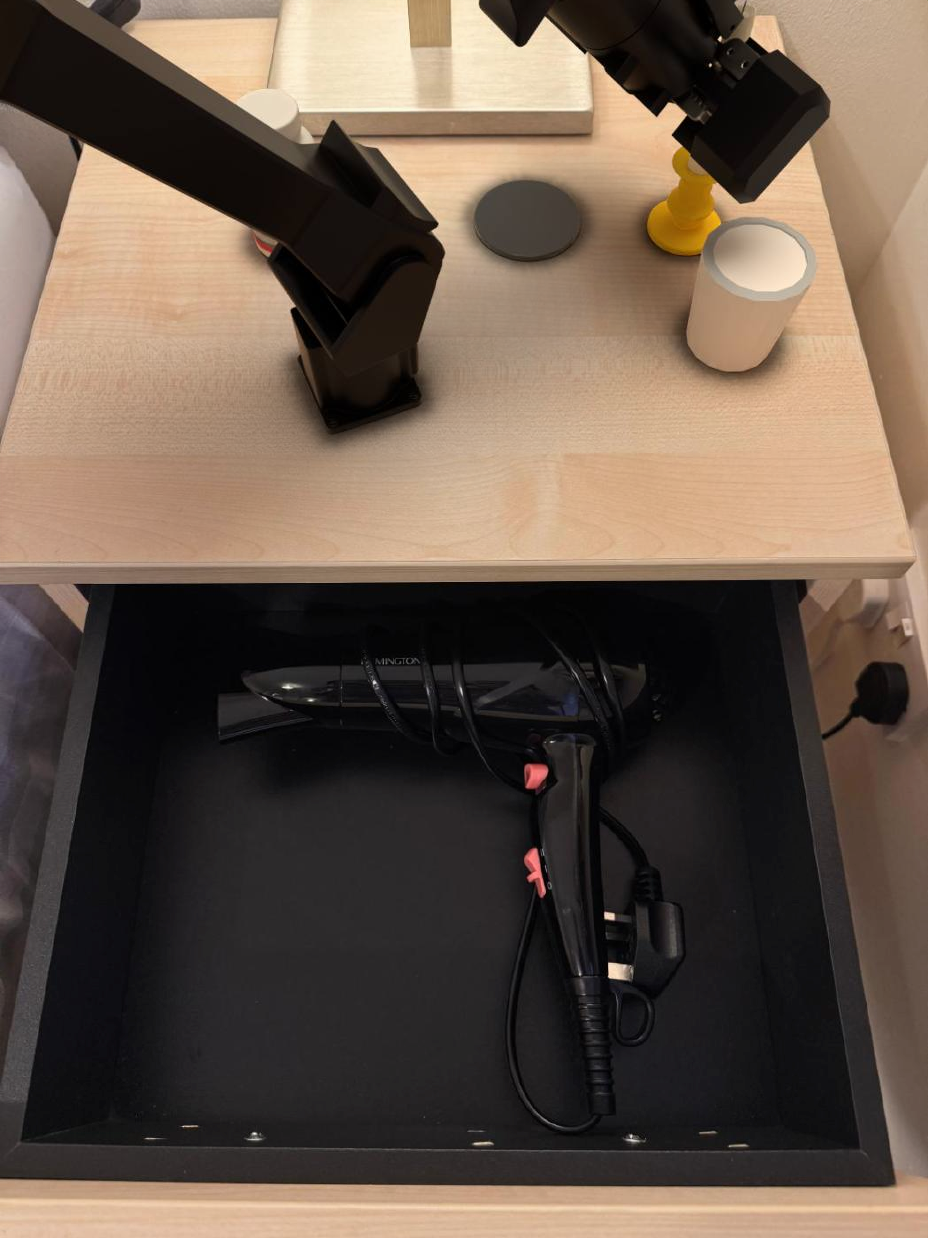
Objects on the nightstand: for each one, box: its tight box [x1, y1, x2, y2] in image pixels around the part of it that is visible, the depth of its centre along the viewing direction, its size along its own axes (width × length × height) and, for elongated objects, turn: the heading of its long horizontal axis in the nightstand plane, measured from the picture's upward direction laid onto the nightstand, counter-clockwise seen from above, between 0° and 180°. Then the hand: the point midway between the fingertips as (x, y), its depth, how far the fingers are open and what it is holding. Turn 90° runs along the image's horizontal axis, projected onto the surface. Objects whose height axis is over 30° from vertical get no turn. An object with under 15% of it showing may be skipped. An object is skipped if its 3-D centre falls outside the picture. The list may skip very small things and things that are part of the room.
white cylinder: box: [685, 216, 819, 372], centre depth 56 cm, size 7×7×7 cm
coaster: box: [473, 179, 581, 262], centre depth 63 cm, size 8×8×1 cm
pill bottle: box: [235, 88, 316, 258], centre depth 58 cm, size 5×5×10 cm
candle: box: [646, 0, 758, 256], centre depth 56 cm, size 5×5×16 cm
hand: (730, 115), depth 56 cm, fingers open, 3 cm apart
